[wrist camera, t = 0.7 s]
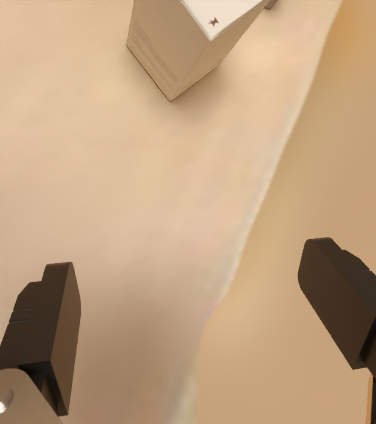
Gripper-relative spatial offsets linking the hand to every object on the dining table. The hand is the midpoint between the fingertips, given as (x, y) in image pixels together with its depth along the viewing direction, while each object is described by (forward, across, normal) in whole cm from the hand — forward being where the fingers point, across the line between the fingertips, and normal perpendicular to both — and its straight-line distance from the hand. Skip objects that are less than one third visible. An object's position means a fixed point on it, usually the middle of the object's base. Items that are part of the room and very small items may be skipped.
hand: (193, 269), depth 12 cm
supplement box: (+30, -3, -3) cm, 30 cm away
